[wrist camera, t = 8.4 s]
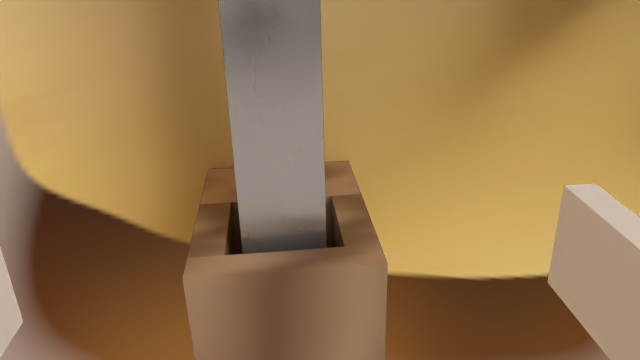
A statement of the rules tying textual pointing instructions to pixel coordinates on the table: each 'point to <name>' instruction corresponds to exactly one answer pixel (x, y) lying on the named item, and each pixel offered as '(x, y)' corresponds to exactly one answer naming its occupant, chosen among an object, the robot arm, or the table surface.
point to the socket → (286, 282)
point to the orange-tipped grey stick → (276, 121)
